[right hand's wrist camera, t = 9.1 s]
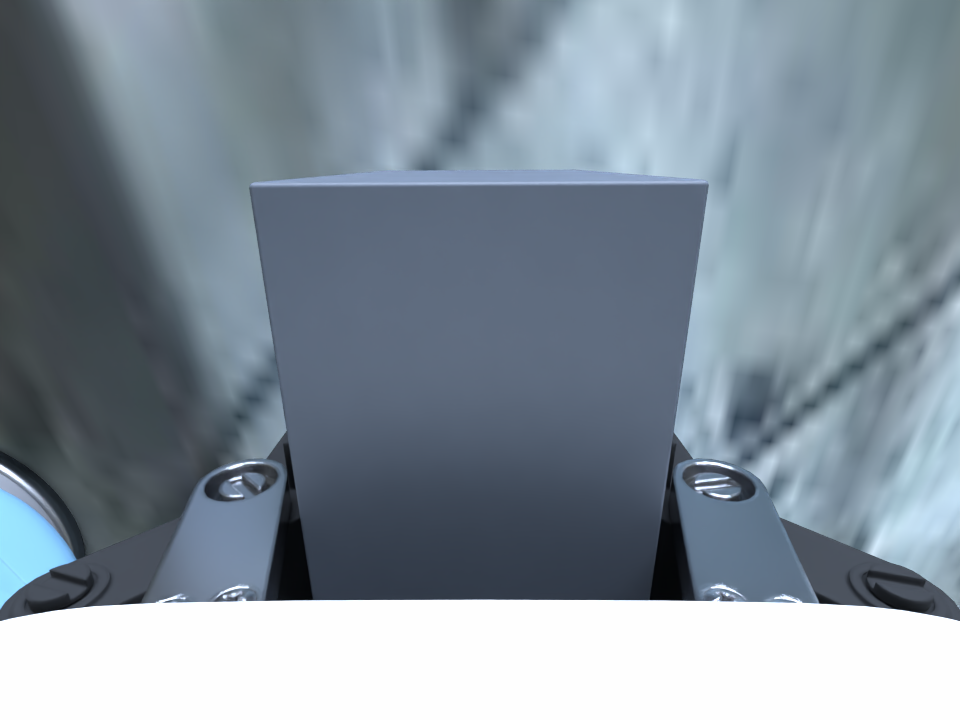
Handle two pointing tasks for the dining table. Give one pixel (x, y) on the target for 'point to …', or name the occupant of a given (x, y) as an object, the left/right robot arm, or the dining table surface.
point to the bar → (480, 375)
